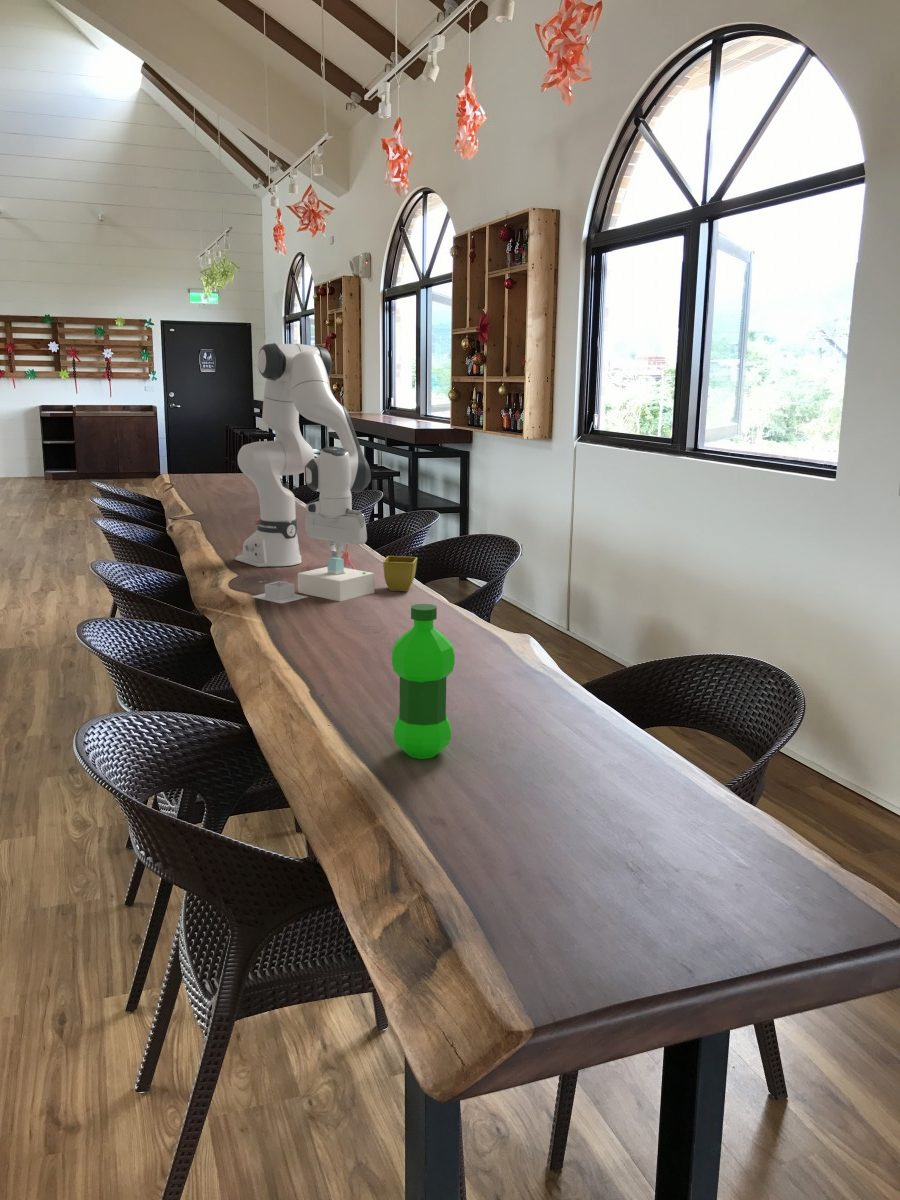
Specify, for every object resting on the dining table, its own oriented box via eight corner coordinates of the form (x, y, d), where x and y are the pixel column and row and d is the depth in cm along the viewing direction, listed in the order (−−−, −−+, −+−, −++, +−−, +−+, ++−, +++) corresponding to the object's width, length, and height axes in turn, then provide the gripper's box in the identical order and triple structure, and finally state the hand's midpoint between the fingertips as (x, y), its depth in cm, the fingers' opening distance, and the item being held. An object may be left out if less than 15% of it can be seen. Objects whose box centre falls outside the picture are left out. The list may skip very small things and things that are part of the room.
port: (298, 594, 267) (297, 571, 266) (332, 585, 278) (332, 564, 277) (340, 603, 258) (340, 579, 256) (374, 594, 269) (374, 571, 267)
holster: (250, 598, 261) (250, 584, 260) (277, 592, 269) (277, 578, 268) (281, 605, 254) (281, 590, 253) (308, 598, 262) (308, 584, 261)
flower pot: (417, 587, 279) (417, 556, 276) (413, 593, 270) (413, 562, 268) (387, 585, 279) (387, 555, 277) (382, 592, 271) (382, 561, 269)
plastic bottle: (451, 740, 164) (453, 599, 158) (453, 765, 154) (456, 615, 148) (392, 740, 164) (393, 598, 158) (391, 765, 154) (391, 614, 148)
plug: (327, 590, 268) (327, 559, 265) (335, 588, 270) (335, 557, 268) (336, 592, 266) (335, 560, 264) (343, 590, 268) (343, 558, 266)
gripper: (371, 509, 259) (372, 559, 262) (317, 502, 270) (318, 550, 274) (356, 512, 254) (356, 563, 257) (301, 505, 266) (302, 553, 269)
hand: (336, 556), depth 265 cm, fingers closed
